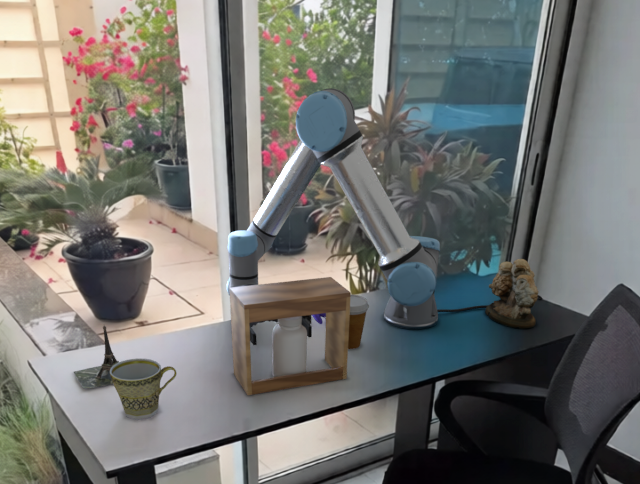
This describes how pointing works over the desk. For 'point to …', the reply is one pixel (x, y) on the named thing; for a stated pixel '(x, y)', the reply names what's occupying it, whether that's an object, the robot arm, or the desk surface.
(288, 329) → the pill bottle
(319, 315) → the game controller
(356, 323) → the disposable coffee cup
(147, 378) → the ceramic cup
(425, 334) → the desk surface
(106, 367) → the eiffel tower souvenir
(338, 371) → the open wooden shelf
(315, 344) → the desk surface
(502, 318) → the owl figurine
